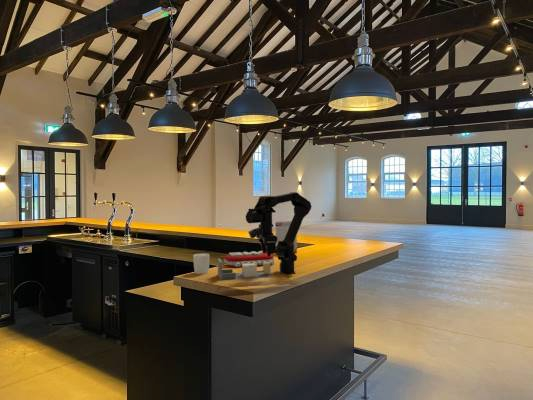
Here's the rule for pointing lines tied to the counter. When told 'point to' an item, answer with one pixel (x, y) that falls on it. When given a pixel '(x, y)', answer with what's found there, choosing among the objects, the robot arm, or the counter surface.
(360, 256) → the counter surface
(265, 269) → the rod-linked cube pair
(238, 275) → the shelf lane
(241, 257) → the word lettering
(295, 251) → the cracker box
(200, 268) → the white cup
